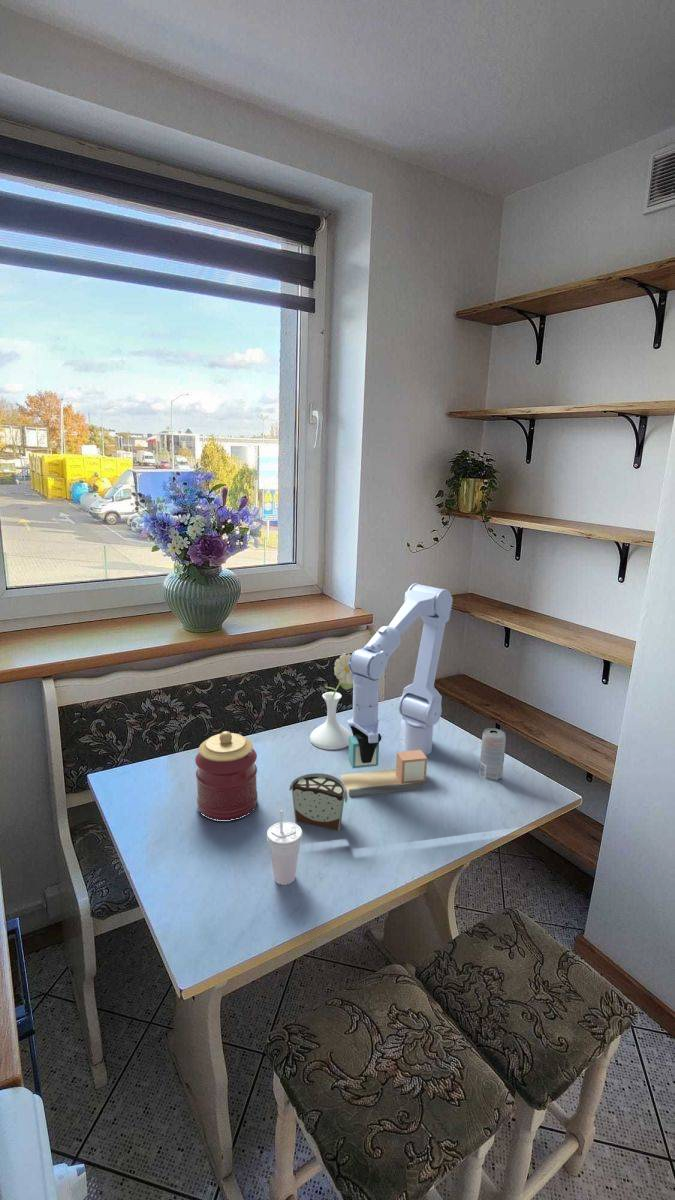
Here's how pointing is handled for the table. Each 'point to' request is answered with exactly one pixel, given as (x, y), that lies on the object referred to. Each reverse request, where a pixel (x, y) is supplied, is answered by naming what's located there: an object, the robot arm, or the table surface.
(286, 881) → the smoothie
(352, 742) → the teal box
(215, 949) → the table surface
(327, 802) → the food container
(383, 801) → the table surface
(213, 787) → the canister
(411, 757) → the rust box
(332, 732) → the flower in vase
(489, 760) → the energy drink
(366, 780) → the board
